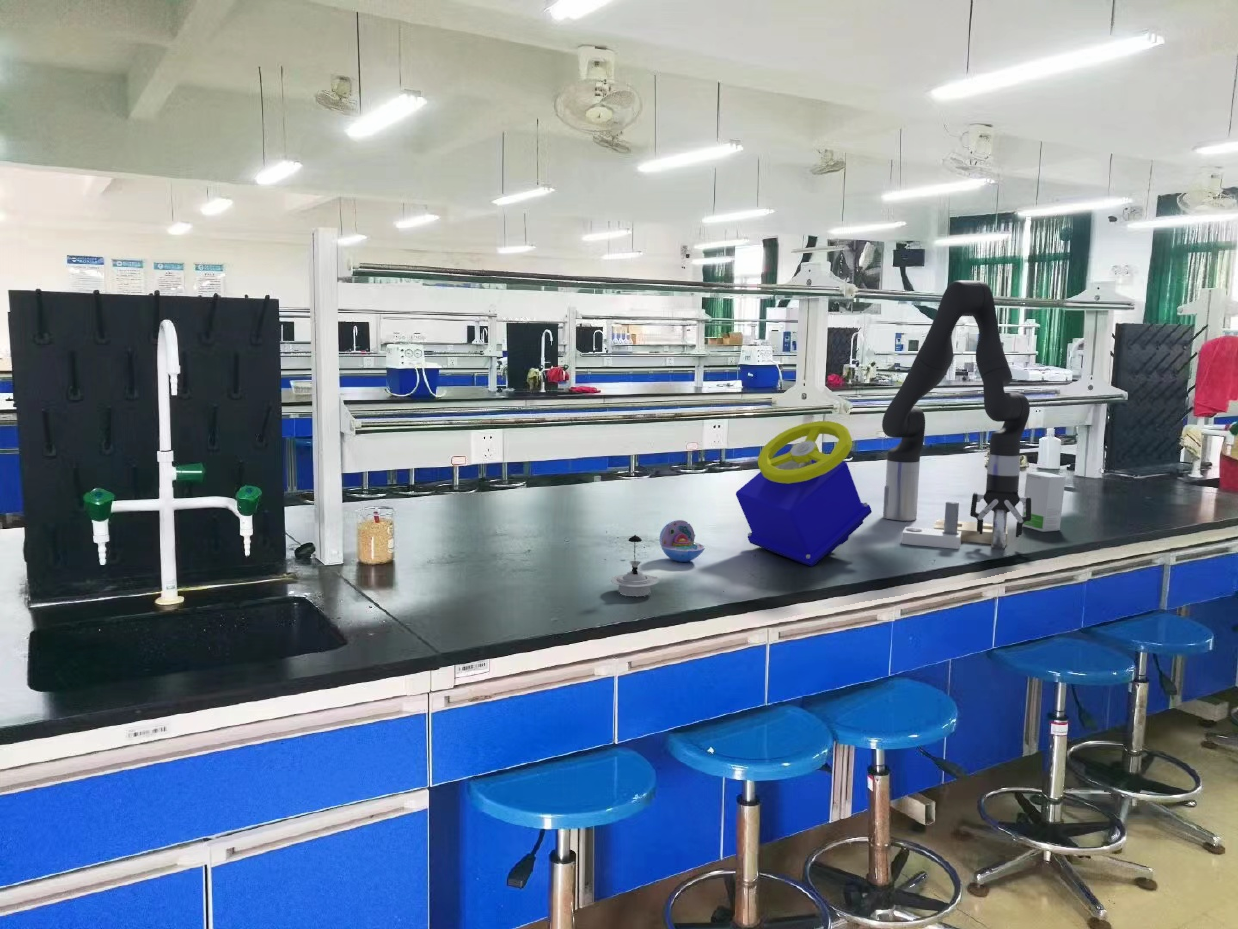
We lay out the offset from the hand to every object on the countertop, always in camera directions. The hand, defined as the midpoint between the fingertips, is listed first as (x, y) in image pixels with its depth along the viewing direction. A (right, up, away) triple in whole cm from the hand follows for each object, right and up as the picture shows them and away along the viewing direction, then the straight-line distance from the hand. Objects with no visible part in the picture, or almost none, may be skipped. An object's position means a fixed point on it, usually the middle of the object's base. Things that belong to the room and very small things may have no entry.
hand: (999, 535), depth 230 cm
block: (-16, -2, +5) cm, 16 cm away
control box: (-52, -5, -11) cm, 53 cm away
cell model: (-82, -5, -16) cm, 84 cm away
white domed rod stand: (-94, -9, -43) cm, 103 cm away
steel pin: (0, -3, +1) cm, 3 cm away
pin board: (-3, -2, +12) cm, 13 cm away
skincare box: (+22, 0, +25) cm, 33 cm away
